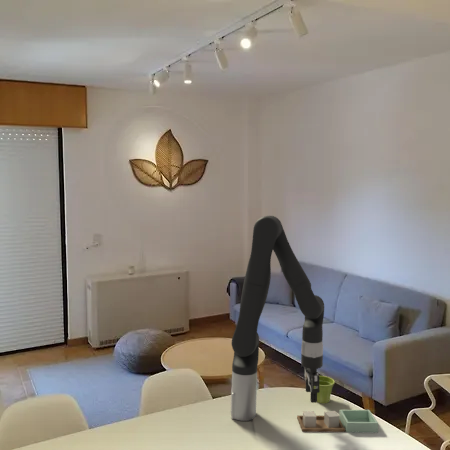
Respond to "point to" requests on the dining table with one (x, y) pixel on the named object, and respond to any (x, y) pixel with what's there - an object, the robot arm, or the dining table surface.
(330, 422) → the stone
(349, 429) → the bin
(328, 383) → the plant pot
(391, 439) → the dining table surface
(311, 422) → the stone
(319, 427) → the tray
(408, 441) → the dining table surface
